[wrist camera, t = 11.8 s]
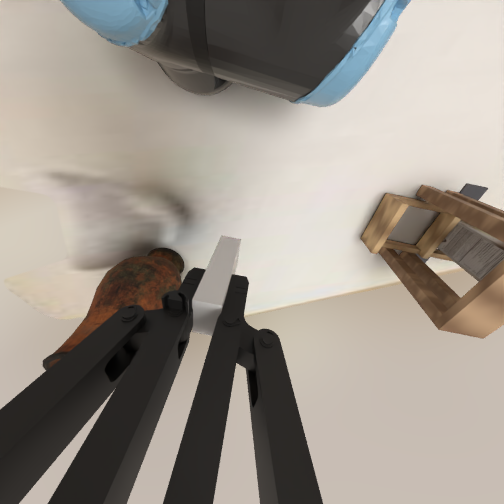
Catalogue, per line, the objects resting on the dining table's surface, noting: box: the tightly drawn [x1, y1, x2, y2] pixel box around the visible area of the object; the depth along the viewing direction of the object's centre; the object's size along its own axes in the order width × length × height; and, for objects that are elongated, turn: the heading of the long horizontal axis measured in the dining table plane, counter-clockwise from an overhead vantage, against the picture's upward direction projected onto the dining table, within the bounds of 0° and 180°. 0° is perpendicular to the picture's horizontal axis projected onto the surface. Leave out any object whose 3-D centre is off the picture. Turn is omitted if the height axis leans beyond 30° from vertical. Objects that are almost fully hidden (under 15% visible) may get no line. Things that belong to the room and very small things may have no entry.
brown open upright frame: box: [379, 185, 504, 338], centre depth 34 cm, size 16×7×21 cm, turn 170°
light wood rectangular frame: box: [361, 193, 461, 261], centre depth 40 cm, size 11×26×6 cm, turn 80°
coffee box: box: [437, 220, 504, 282], centre depth 36 cm, size 9×6×16 cm
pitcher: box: [43, 248, 184, 371], centre depth 44 cm, size 17×21×30 cm
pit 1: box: [416, 254, 430, 263], centre depth 48 cm, size 4×4×1 cm
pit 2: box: [460, 184, 488, 200], centre depth 39 cm, size 4×4×1 cm
